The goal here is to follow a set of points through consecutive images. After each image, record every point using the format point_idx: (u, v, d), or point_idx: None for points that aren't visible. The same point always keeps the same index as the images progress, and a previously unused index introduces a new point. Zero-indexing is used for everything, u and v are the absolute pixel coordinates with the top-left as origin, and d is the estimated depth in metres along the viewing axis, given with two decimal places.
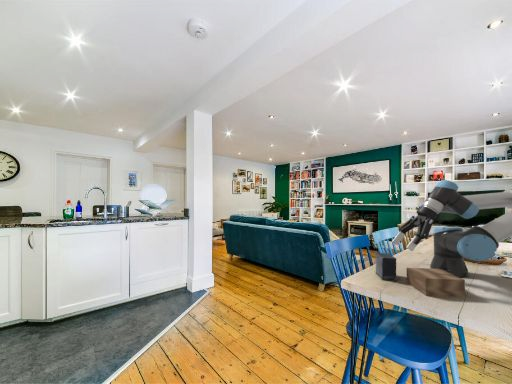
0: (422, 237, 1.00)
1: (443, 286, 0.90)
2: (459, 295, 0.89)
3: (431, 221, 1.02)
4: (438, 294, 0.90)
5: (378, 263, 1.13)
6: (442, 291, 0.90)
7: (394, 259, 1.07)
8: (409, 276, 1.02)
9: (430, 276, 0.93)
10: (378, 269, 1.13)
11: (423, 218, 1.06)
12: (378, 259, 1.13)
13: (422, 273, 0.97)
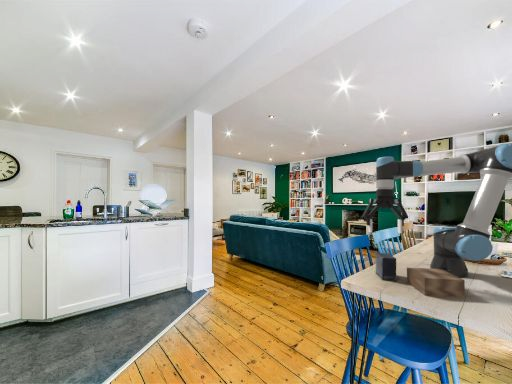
0: None
1: (442, 286, 0.90)
2: (459, 295, 0.89)
3: (370, 200, 1.14)
4: (437, 294, 0.90)
5: (378, 263, 1.13)
6: (442, 291, 0.90)
7: (394, 259, 1.07)
8: (409, 276, 1.03)
9: (429, 276, 0.93)
10: (378, 269, 1.13)
11: None
12: (378, 259, 1.13)
13: (422, 273, 0.97)
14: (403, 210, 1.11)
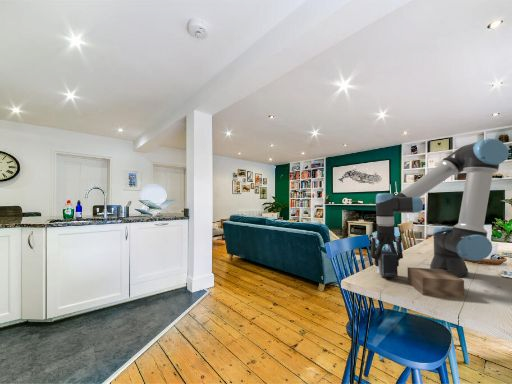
0: None
1: (440, 286, 0.90)
2: (458, 295, 0.89)
3: (371, 239, 1.13)
4: (436, 294, 0.90)
5: None
6: (440, 291, 0.90)
7: (395, 255, 1.07)
8: (409, 276, 1.03)
9: (428, 276, 0.93)
10: None
11: None
12: None
13: (421, 273, 0.97)
14: (400, 250, 1.11)
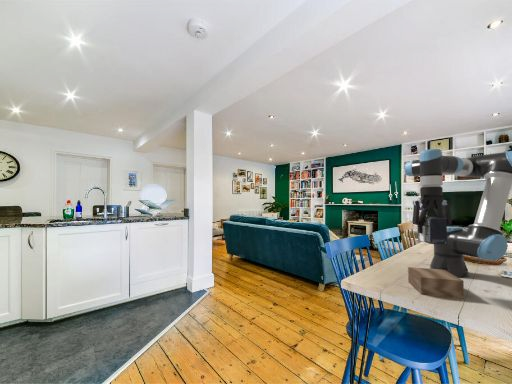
0: (416, 224, 0.98)
1: (439, 286, 0.90)
2: (457, 296, 0.89)
3: (414, 203, 0.99)
4: (434, 294, 0.91)
5: None
6: (439, 291, 0.90)
7: (444, 219, 0.92)
8: (410, 275, 1.03)
9: (427, 275, 0.94)
10: None
11: None
12: None
13: (421, 272, 0.97)
14: (449, 214, 0.96)
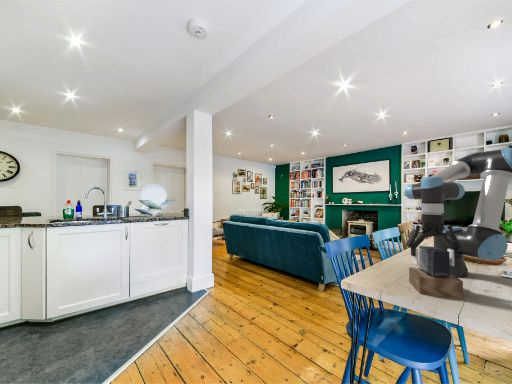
0: None
1: (438, 286, 0.90)
2: (456, 296, 0.89)
3: (415, 227, 0.98)
4: (433, 294, 0.91)
5: (425, 258, 0.98)
6: (438, 291, 0.90)
7: (447, 253, 0.92)
8: (410, 276, 1.04)
9: (426, 276, 0.94)
10: (425, 265, 0.98)
11: None
12: (425, 253, 0.98)
13: (421, 273, 0.98)
14: (455, 239, 0.95)
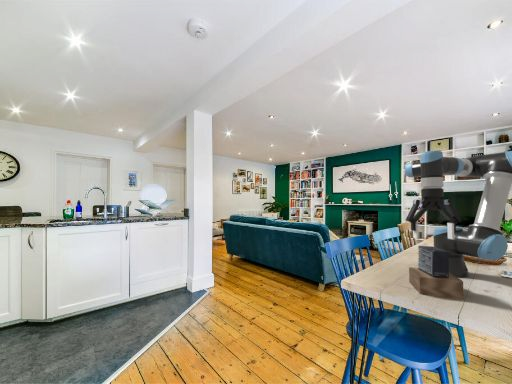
0: (409, 221, 0.99)
1: (438, 286, 0.90)
2: (457, 296, 0.88)
3: (415, 201, 0.98)
4: (433, 294, 0.91)
5: (424, 258, 0.98)
6: (438, 291, 0.90)
7: (446, 252, 0.92)
8: (410, 275, 1.03)
9: (427, 276, 0.94)
10: (424, 264, 0.98)
11: None
12: (424, 253, 0.98)
13: (421, 273, 0.98)
14: (455, 212, 0.96)
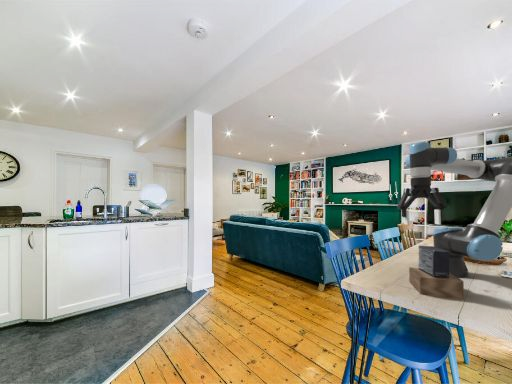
0: (400, 209, 1.05)
1: (439, 286, 0.90)
2: (457, 296, 0.88)
3: (405, 190, 1.05)
4: (434, 294, 0.91)
5: (424, 258, 0.98)
6: (438, 291, 0.90)
7: (447, 252, 0.92)
8: (410, 276, 1.03)
9: (427, 276, 0.94)
10: (424, 264, 0.98)
11: None
12: (424, 253, 0.98)
13: (421, 273, 0.97)
14: (441, 199, 1.03)
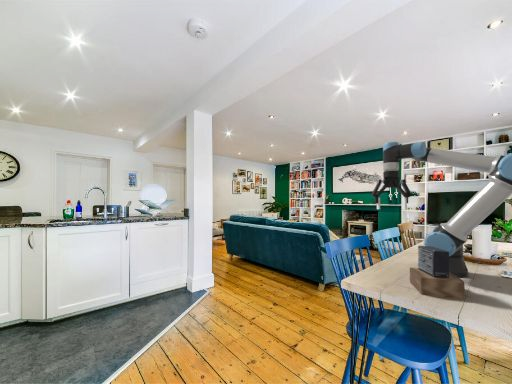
0: (373, 196, 1.29)
1: (440, 286, 0.90)
2: (458, 296, 0.88)
3: (378, 181, 1.29)
4: (435, 294, 0.90)
5: (424, 258, 0.98)
6: (439, 291, 0.90)
7: (447, 252, 0.92)
8: (411, 276, 1.03)
9: (428, 276, 0.93)
10: (424, 264, 0.98)
11: None
12: (424, 253, 0.98)
13: (422, 273, 0.97)
14: (407, 189, 1.26)
